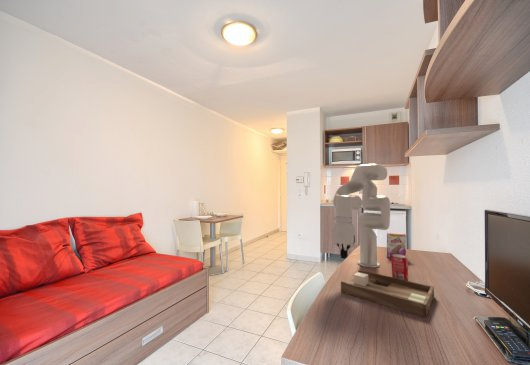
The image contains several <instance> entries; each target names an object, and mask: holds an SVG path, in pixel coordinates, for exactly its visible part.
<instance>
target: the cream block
mask: <svg viewBox="0 0 530 365" xmlns="http://www.w3.org/2000/svg"><path fill="white" fill-rule="evenodd" d="M353 278H354V284H358V285H362V286H366V285H367V284H368V274H364V273H359V272H358V271H357V272H356V273H354V274H353Z"/></svg>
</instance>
